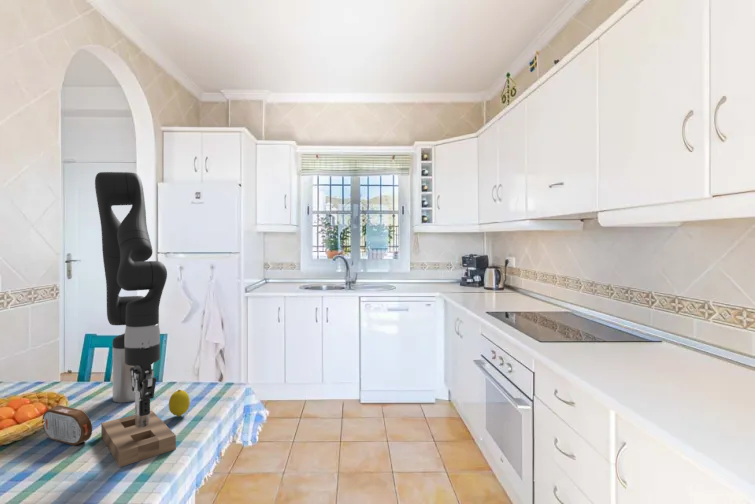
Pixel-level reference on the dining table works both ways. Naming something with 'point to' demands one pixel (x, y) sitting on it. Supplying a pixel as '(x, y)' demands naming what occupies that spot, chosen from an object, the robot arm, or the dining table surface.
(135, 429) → the hole block
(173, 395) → the lemon
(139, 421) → the peg
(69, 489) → the dining table surface
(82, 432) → the tin
